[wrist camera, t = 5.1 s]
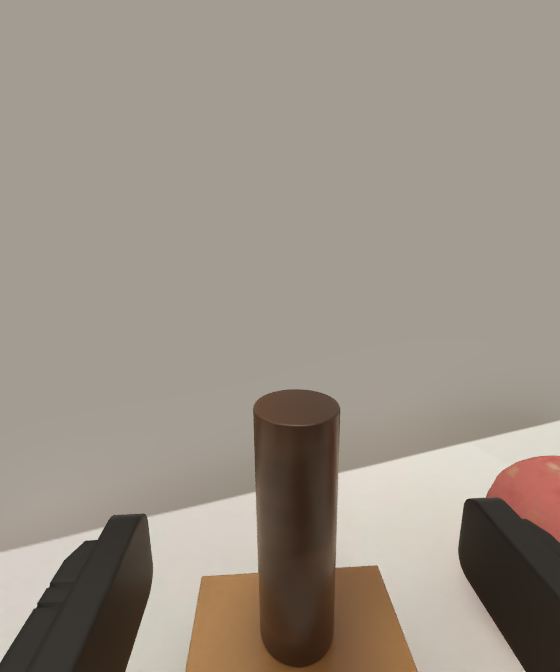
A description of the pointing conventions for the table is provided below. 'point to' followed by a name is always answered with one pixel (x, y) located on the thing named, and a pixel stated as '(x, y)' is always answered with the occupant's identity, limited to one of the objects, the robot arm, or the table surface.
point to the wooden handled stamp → (297, 564)
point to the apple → (532, 491)
